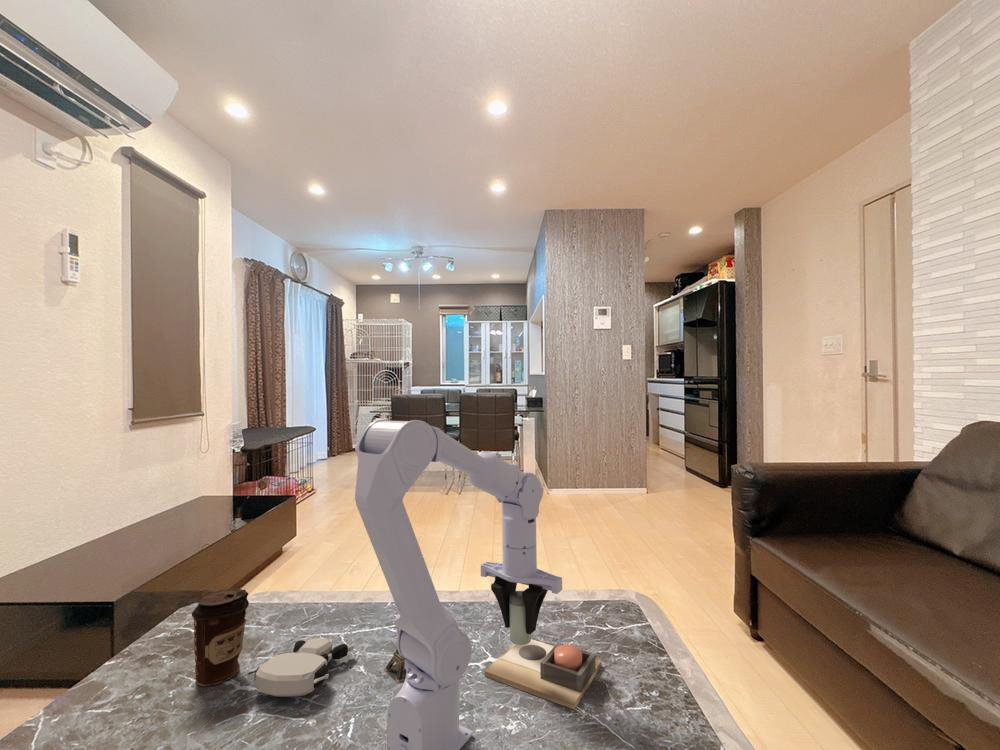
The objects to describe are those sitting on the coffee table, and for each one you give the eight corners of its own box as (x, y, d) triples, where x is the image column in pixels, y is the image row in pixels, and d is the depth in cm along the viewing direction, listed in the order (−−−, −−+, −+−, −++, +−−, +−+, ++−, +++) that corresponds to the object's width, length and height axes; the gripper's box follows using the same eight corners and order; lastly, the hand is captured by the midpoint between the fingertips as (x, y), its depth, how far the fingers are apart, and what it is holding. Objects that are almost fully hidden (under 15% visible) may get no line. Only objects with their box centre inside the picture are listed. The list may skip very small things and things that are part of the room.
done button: (576, 676, 68) (576, 663, 69) (550, 667, 71) (549, 654, 71) (586, 661, 72) (586, 649, 73) (561, 654, 75) (560, 642, 75)
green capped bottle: (524, 647, 68) (524, 601, 69) (505, 641, 70) (505, 596, 71) (534, 637, 71) (534, 593, 72) (516, 631, 73) (515, 589, 74)
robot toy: (296, 656, 80) (236, 704, 65) (298, 630, 81) (239, 671, 66) (357, 662, 78) (311, 712, 64) (359, 635, 79) (313, 678, 64)
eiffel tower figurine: (424, 705, 66) (425, 614, 67) (360, 702, 67) (363, 612, 68) (444, 651, 81) (444, 578, 82) (391, 649, 82) (393, 576, 83)
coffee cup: (259, 665, 76) (262, 588, 77) (216, 695, 68) (221, 609, 69) (220, 657, 78) (224, 583, 79) (175, 685, 70) (180, 603, 71)
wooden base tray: (574, 709, 64) (573, 686, 64) (484, 676, 72) (484, 655, 73) (601, 665, 75) (600, 646, 75) (521, 640, 83) (521, 623, 84)
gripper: (568, 544, 71) (570, 628, 70) (495, 531, 79) (496, 608, 78) (551, 556, 65) (552, 649, 64) (473, 541, 73) (473, 625, 72)
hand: (520, 628), depth 71 cm, fingers closed on green capped bottle, 3 cm apart
